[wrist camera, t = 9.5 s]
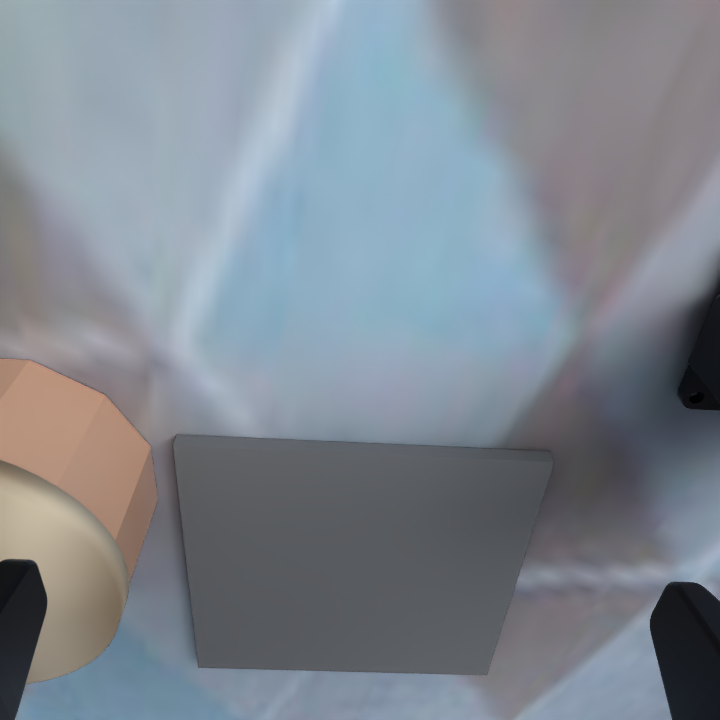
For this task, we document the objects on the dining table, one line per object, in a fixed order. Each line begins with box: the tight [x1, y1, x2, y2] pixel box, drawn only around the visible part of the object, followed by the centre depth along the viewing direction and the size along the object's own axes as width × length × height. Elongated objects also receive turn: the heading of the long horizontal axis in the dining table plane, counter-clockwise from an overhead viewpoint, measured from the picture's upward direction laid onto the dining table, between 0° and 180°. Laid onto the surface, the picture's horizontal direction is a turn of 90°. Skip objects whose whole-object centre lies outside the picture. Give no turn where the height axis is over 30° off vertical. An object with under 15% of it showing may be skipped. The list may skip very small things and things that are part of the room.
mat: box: [173, 435, 554, 675], centre depth 28 cm, size 14×14×1 cm
